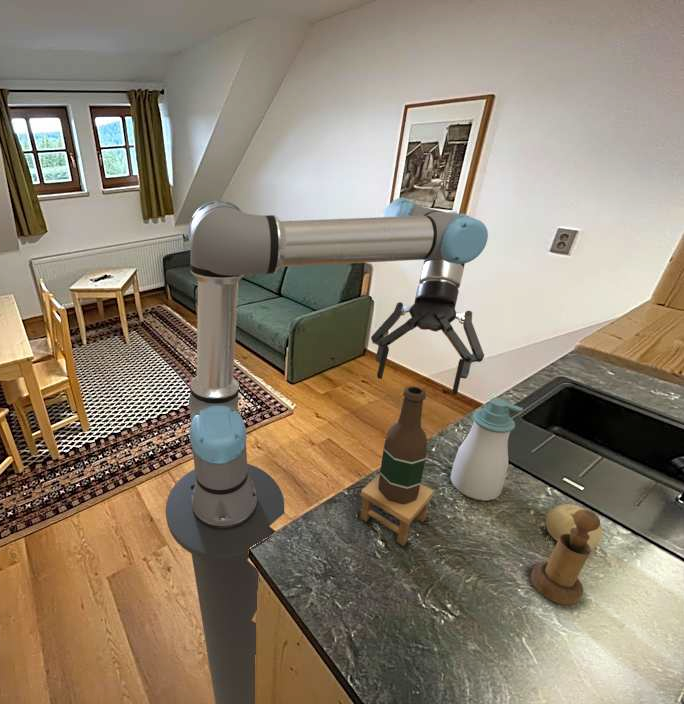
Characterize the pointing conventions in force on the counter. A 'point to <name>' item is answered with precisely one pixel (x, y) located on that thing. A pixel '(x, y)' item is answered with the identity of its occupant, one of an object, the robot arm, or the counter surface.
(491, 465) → the soap bottle
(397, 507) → the stool
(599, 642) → the counter surface
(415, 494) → the beer bottle
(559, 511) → the onion
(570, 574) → the mortar and pestle
